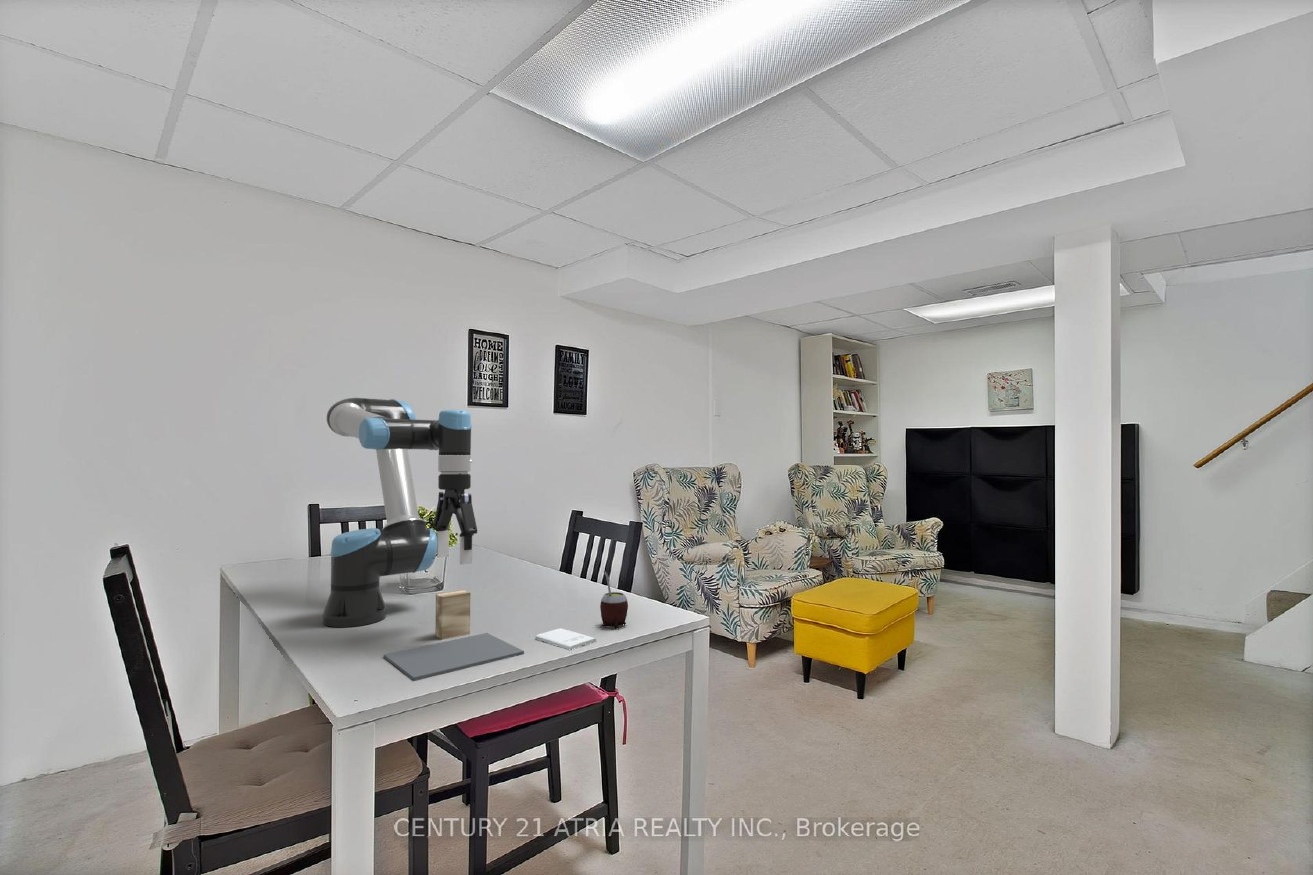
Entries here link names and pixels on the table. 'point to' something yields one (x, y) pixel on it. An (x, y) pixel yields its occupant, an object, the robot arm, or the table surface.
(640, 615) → the table surface
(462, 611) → the face block
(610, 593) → the mate gourd
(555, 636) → the external hard drive
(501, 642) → the mat
